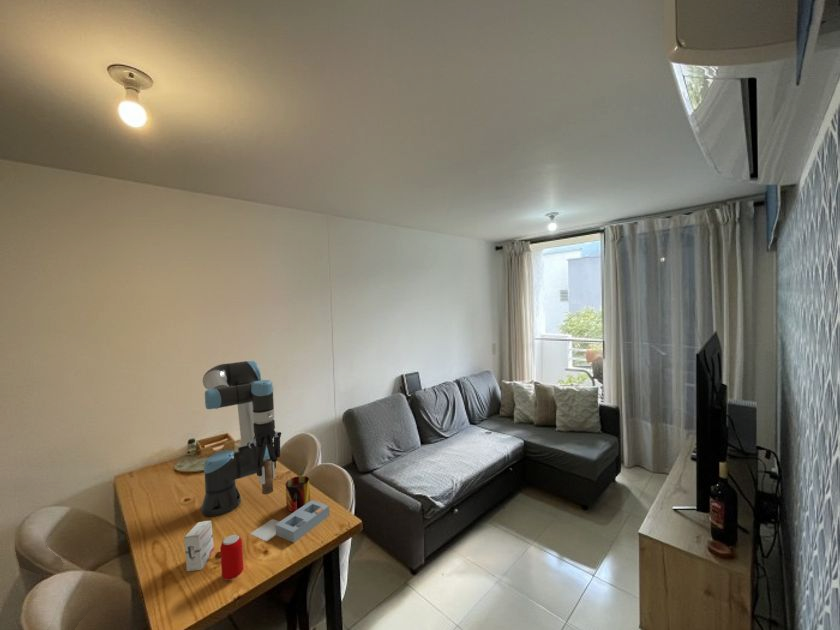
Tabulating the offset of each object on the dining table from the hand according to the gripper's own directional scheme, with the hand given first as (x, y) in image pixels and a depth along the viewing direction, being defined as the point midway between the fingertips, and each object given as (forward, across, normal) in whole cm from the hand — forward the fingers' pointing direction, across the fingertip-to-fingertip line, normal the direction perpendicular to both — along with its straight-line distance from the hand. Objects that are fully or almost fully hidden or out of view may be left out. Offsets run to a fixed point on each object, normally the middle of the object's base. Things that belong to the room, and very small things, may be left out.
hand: (267, 480), depth 131 cm
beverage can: (+21, -20, -8) cm, 30 cm away
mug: (+21, +15, 0) cm, 26 cm away
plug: (+5, 0, 0) cm, 5 cm away
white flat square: (+20, 0, 0) cm, 20 cm away
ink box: (+21, -21, +8) cm, 31 cm away
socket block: (+20, +8, -10) cm, 24 cm away
